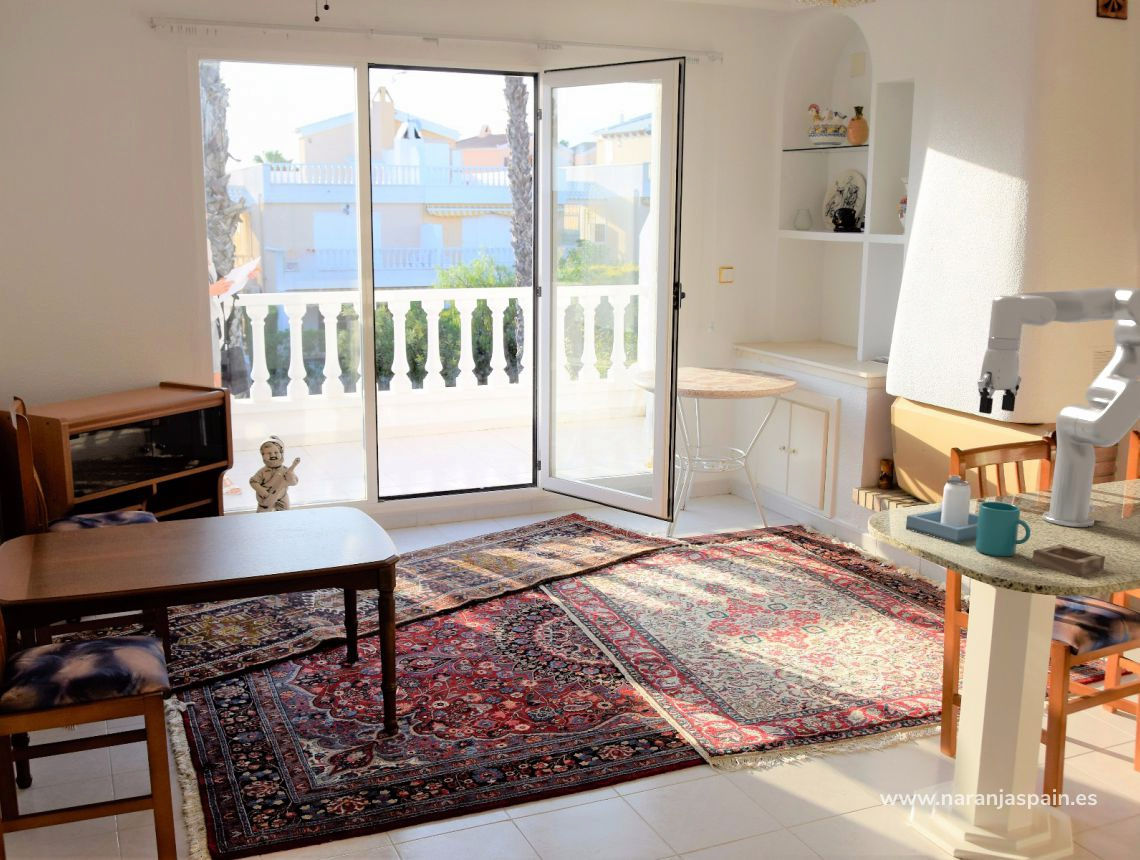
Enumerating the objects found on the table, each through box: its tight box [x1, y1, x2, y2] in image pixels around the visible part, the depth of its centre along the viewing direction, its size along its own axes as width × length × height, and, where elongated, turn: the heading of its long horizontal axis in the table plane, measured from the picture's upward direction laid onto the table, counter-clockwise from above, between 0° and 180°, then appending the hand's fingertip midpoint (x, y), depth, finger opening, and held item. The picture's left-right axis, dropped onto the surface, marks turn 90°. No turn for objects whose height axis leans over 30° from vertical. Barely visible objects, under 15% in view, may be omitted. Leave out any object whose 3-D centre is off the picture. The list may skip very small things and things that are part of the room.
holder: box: [1031, 543, 1106, 577], centre depth 247 cm, size 11×11×3 cm
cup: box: [974, 501, 1031, 558], centre depth 255 cm, size 9×12×11 cm
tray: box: [905, 509, 979, 544], centre depth 273 cm, size 18×15×4 cm
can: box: [941, 479, 972, 527], centre depth 272 cm, size 6×6×12 cm
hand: (996, 411), depth 274 cm, fingers open, 9 cm apart
